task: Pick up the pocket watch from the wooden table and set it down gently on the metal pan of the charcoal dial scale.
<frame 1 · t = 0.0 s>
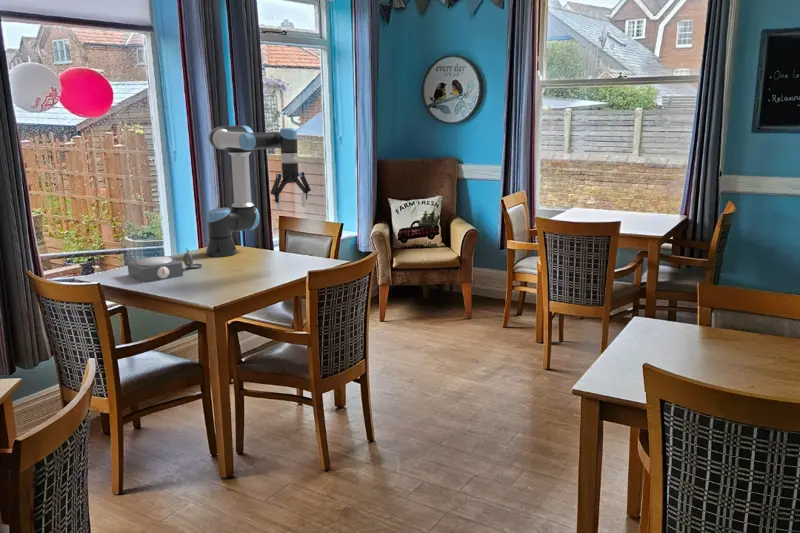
hand: (291, 208, 315), 28 cm above the table, tool pointing down, fingers open, 13 cm apart
pocket watch: (192, 268, 321), on the table
dial scale: (155, 275, 307), on the table
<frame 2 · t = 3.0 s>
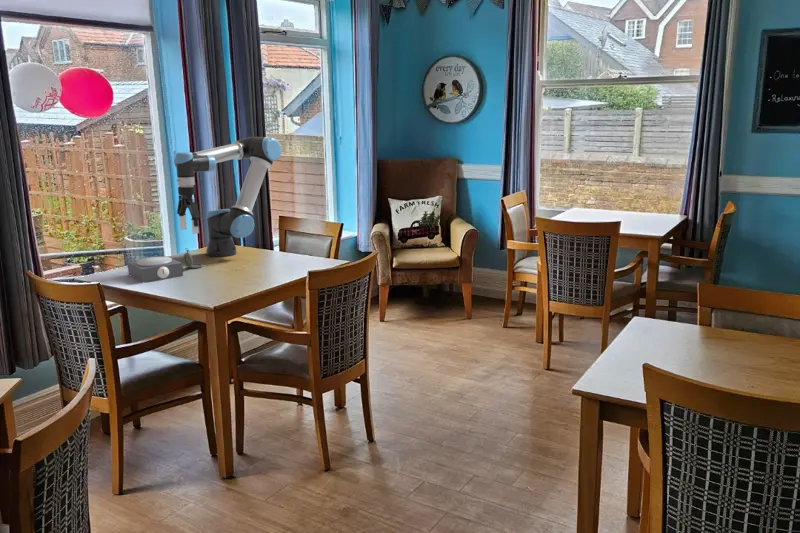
hand: (189, 231, 317), 17 cm above the table, tool pointing down, fingers open, 13 cm apart
nothing on the table moved.
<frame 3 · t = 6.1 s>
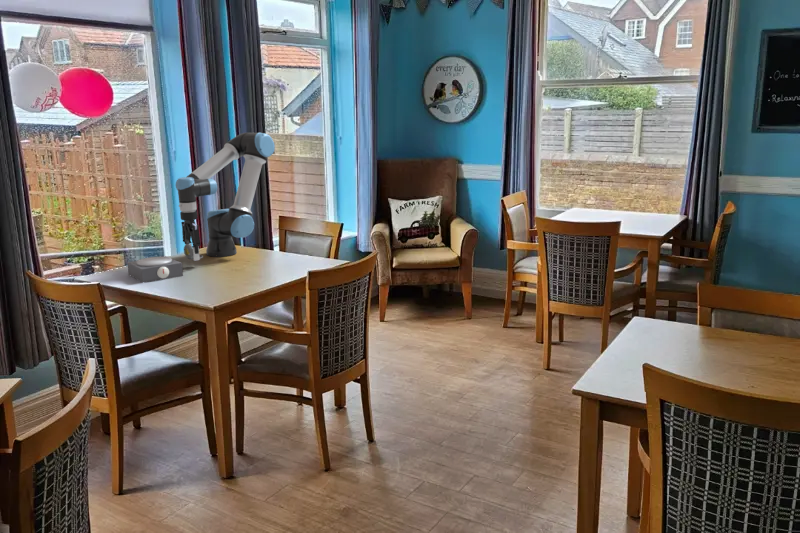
hand: (193, 258, 320), 4 cm above the table, tool pointing down, fingers closed on pocket watch, 7 cm apart
pocket watch: (193, 259, 321), point 4 cm above the table, touching gripper
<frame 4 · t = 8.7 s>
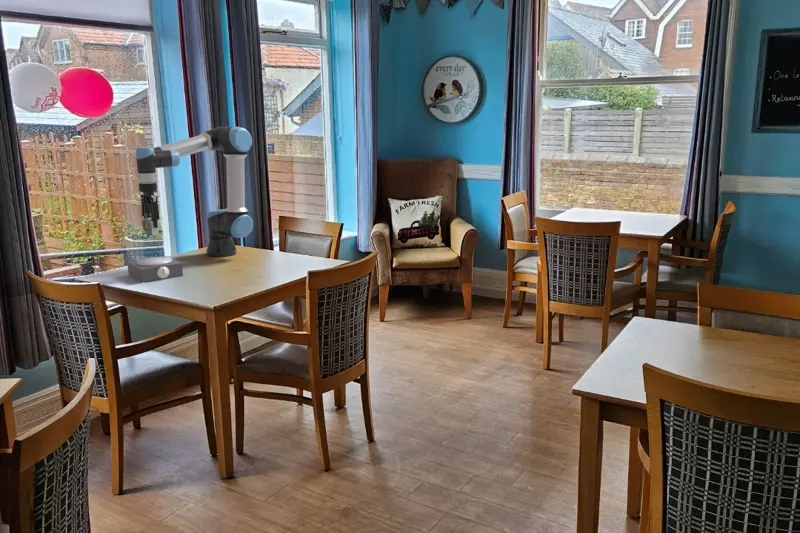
hand: (152, 233, 302), 19 cm above the table, tool pointing down, fingers closed on pocket watch, 7 cm apart
pocket watch: (152, 234, 303), point 19 cm above the table, touching gripper
when the fingers open (8 cm above the table, at t = 11.5 s): pocket watch stays where it is, resting on dial scale.
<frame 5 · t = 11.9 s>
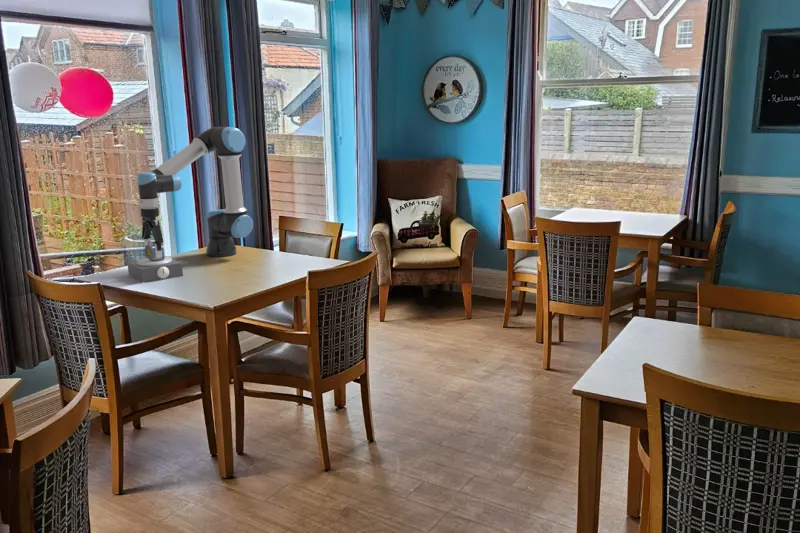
hand: (153, 255, 304), 9 cm above the table, tool pointing down, fingers open, 12 cm apart
pocket watch: (154, 260, 305), point 7 cm above the table, touching dial scale
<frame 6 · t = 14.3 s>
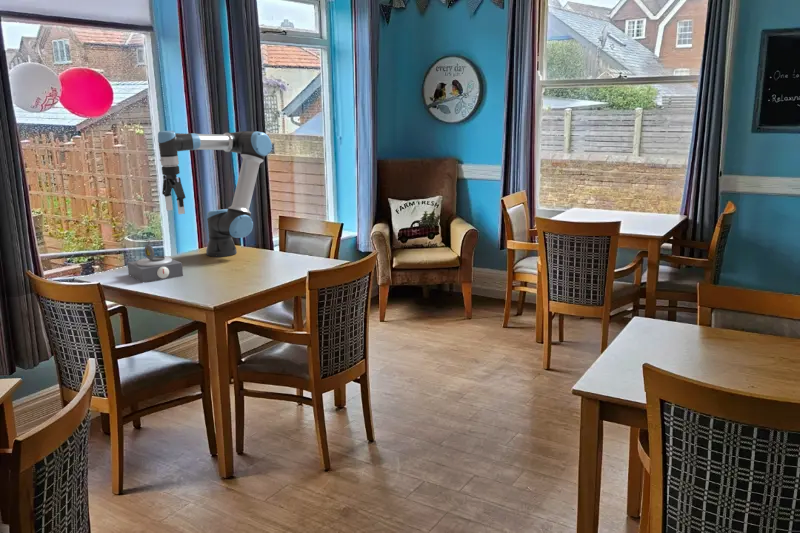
hand: (175, 212, 311), 27 cm above the table, tool pointing down, fingers open, 13 cm apart
nothing on the table moved.
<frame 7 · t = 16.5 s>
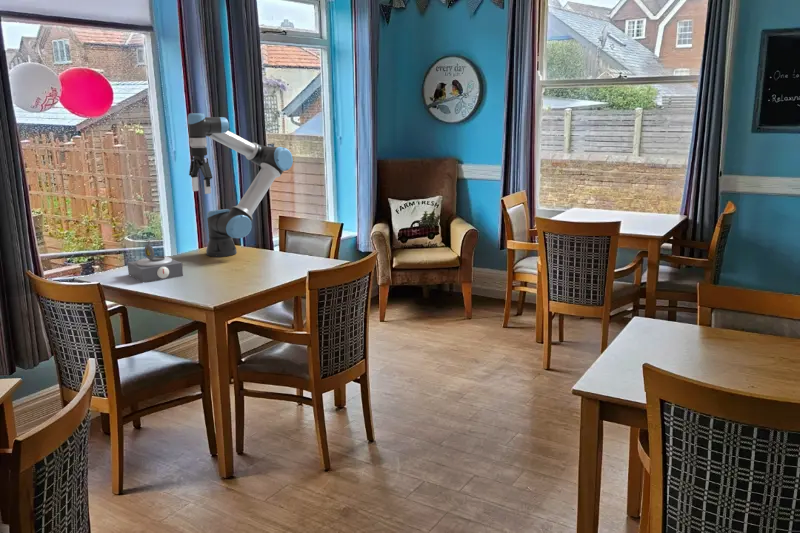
hand: (201, 192, 321), 35 cm above the table, tool pointing down, fingers open, 13 cm apart
nothing on the table moved.
at the end: pocket watch inside the target area on the dial scale (0.2 cm from its centre), point 6.8 cm above the dial scale's base; pocket watch tilted 0°; the gripper is holding nothing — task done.
